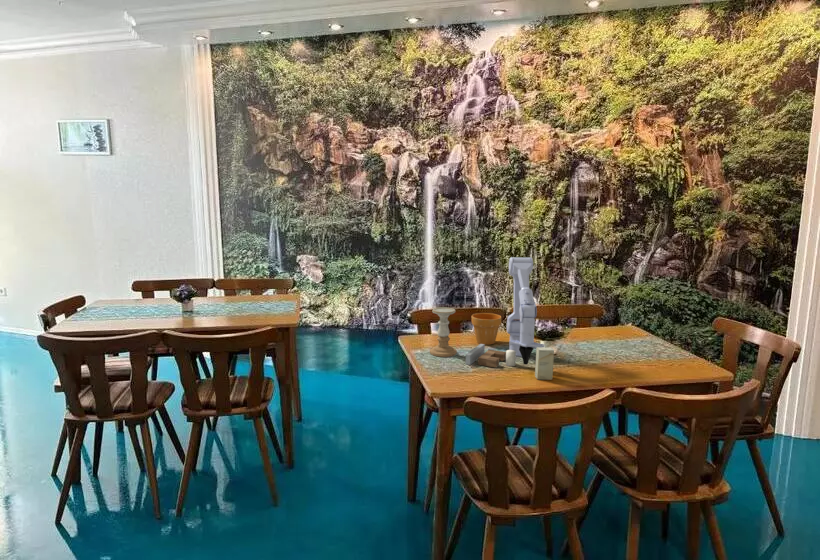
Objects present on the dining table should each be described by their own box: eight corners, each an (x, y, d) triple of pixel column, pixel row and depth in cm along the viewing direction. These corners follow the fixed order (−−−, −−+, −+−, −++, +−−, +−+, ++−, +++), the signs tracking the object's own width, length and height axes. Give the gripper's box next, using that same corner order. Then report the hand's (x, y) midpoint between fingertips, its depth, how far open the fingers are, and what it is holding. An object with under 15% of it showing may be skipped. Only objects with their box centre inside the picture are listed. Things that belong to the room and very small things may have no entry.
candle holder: (435, 358, 261) (435, 313, 257) (425, 350, 272) (426, 307, 269) (461, 355, 265) (462, 311, 261) (450, 348, 276) (451, 306, 273)
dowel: (507, 362, 255) (507, 349, 254) (516, 364, 253) (516, 350, 252) (504, 365, 251) (505, 351, 250) (514, 366, 250) (514, 353, 249)
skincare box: (537, 379, 234) (538, 350, 232) (534, 376, 238) (535, 346, 236) (553, 379, 234) (554, 350, 232) (550, 376, 238) (551, 346, 236)
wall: (480, 353, 268) (480, 343, 268) (484, 353, 267) (484, 344, 267) (465, 364, 252) (465, 354, 252) (469, 365, 252) (470, 354, 251)
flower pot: (474, 337, 295) (474, 311, 293) (502, 339, 291) (503, 314, 289) (468, 344, 282) (468, 318, 280) (497, 347, 278) (498, 320, 275)
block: (488, 356, 264) (489, 349, 263) (506, 358, 260) (506, 352, 260) (477, 364, 252) (478, 357, 251) (495, 367, 248) (496, 360, 248)
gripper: (507, 332, 247) (506, 363, 249) (541, 337, 240) (540, 369, 242) (512, 328, 253) (511, 359, 255) (546, 332, 246) (544, 364, 249)
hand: (525, 363), depth 249 cm, fingers closed
